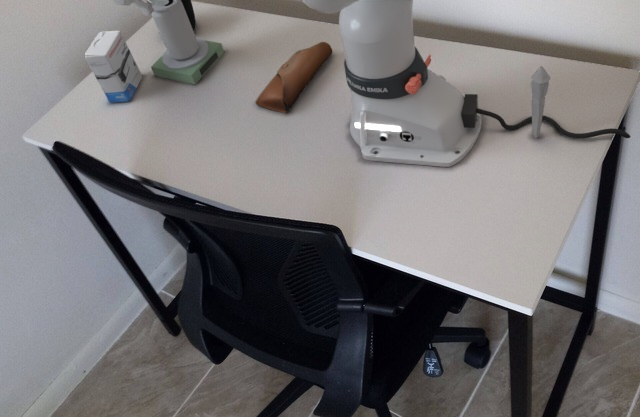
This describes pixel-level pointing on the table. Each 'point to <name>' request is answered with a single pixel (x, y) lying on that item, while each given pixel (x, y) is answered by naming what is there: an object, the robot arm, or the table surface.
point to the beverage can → (175, 28)
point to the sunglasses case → (293, 78)
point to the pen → (538, 98)
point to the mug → (187, 11)
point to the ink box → (113, 66)
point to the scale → (189, 63)
